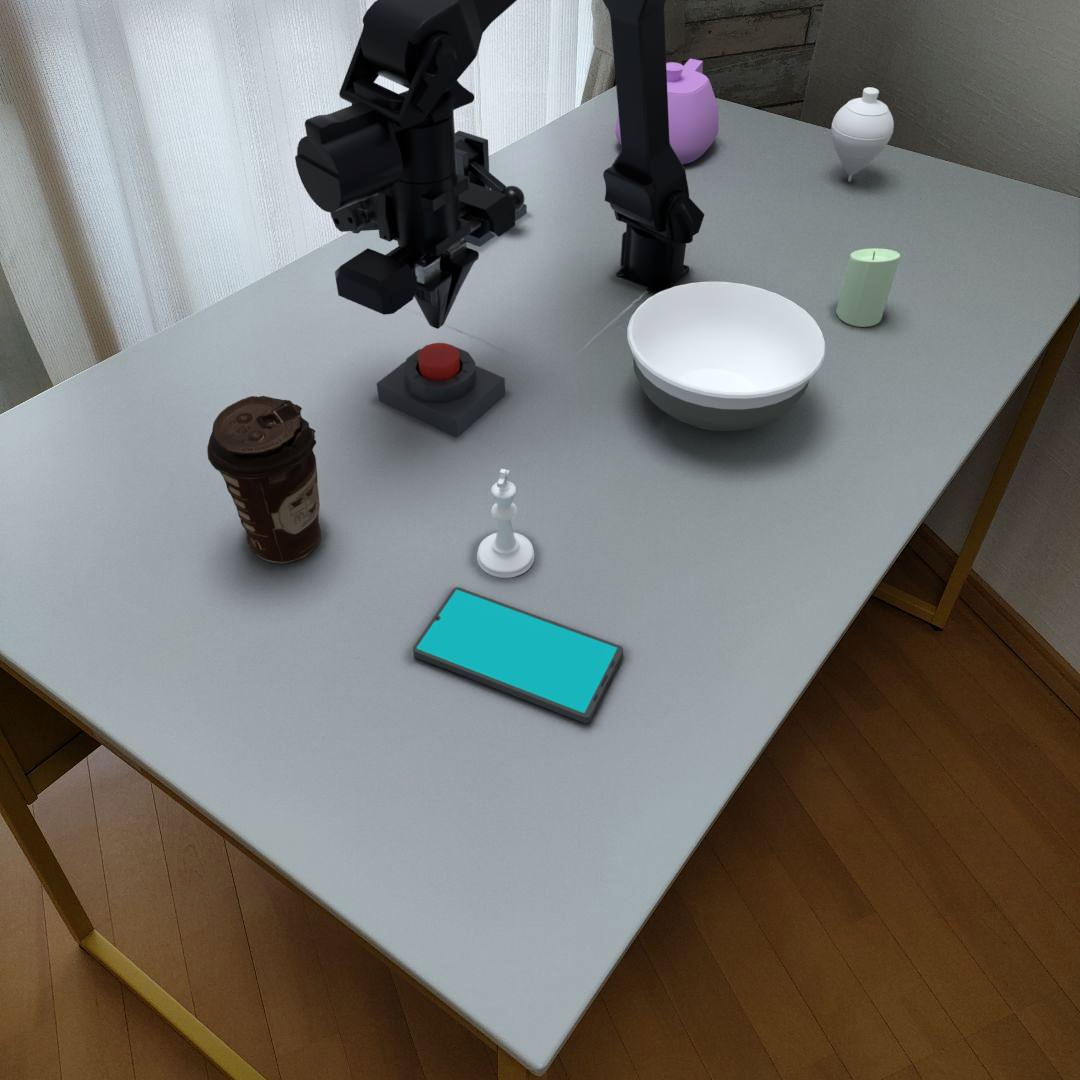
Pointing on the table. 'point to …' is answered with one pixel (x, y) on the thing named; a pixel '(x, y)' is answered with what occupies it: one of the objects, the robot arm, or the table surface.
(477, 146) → the lever bracket
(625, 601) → the table surface
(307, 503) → the coffee cup
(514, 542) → the chess piece
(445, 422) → the control block
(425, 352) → the red button
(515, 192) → the black lever
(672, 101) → the teapot
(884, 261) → the candle
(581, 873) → the table surface
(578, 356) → the table surface
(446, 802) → the table surface
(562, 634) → the smartphone
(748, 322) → the bowl
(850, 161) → the spinning top
